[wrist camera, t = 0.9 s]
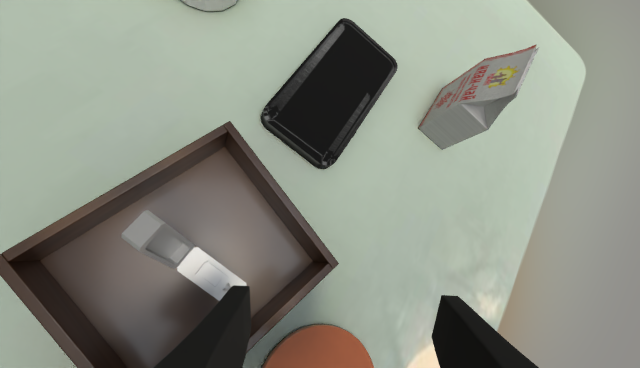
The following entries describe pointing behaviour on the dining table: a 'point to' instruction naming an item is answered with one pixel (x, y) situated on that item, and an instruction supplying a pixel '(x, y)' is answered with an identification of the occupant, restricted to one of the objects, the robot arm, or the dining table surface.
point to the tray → (157, 278)
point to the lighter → (179, 254)
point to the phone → (330, 94)
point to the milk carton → (476, 98)
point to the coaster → (319, 349)
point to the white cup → (210, 4)
